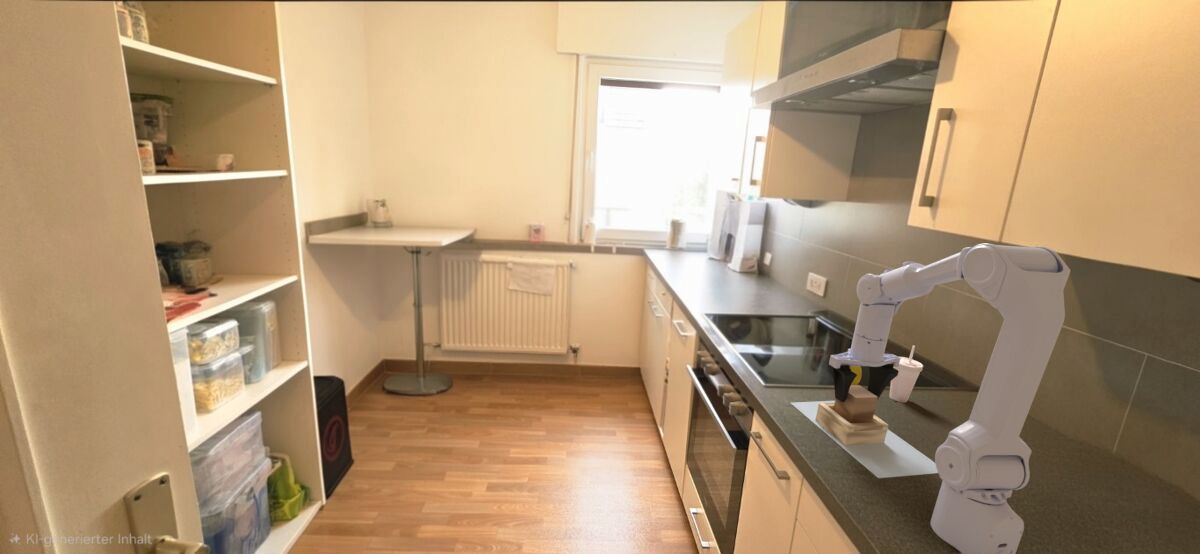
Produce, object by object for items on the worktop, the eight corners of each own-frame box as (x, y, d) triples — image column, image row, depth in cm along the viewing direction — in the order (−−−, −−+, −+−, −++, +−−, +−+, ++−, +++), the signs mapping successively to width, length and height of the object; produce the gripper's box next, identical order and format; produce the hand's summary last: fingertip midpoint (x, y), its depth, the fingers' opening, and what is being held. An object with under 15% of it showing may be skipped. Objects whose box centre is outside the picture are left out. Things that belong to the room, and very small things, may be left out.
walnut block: (871, 424, 94) (877, 397, 93) (849, 425, 93) (856, 397, 92) (853, 411, 99) (859, 385, 97) (832, 412, 98) (838, 385, 96)
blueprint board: (947, 475, 86) (948, 472, 86) (877, 482, 82) (878, 478, 82) (846, 403, 110) (847, 400, 110) (789, 405, 107) (790, 402, 107)
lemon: (861, 395, 115) (868, 364, 113) (836, 391, 116) (843, 361, 114) (853, 385, 120) (860, 356, 118) (830, 381, 121) (837, 352, 119)
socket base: (884, 442, 93) (888, 424, 92) (845, 445, 91) (849, 427, 90) (851, 418, 102) (855, 401, 101) (815, 420, 100) (818, 403, 99)
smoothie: (897, 405, 111) (911, 350, 108) (877, 392, 117) (889, 339, 114) (920, 404, 112) (935, 350, 109) (898, 391, 118) (912, 339, 115)
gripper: (885, 328, 97) (871, 388, 100) (824, 328, 94) (811, 390, 97) (914, 341, 90) (898, 405, 94) (849, 341, 87) (835, 408, 90)
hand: (856, 399), depth 95 cm, fingers open, 7 cm apart
